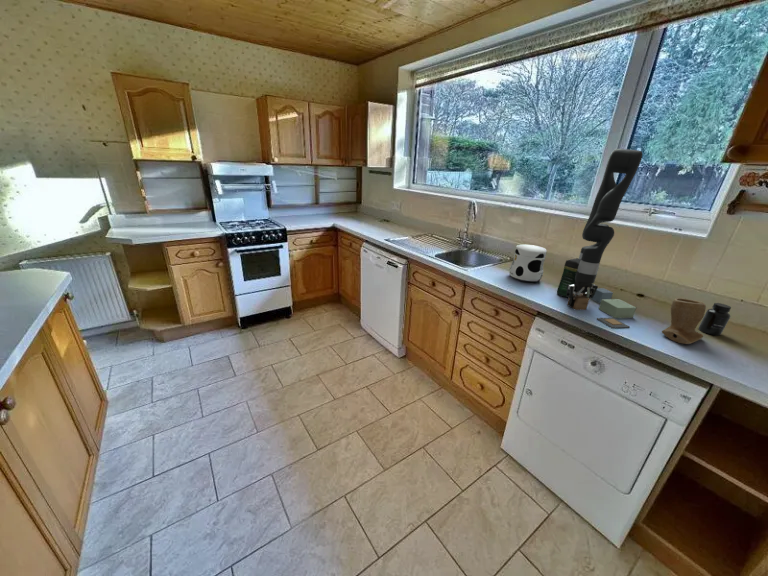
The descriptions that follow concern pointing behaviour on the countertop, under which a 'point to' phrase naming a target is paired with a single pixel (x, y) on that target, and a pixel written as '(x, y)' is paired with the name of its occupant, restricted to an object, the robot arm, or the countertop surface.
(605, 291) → the blue-grey cube
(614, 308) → the sage base block
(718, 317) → the supplement bottle
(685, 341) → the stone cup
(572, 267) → the coffee jar
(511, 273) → the milk container
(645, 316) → the countertop surface
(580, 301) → the walnut cube
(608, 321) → the tile
